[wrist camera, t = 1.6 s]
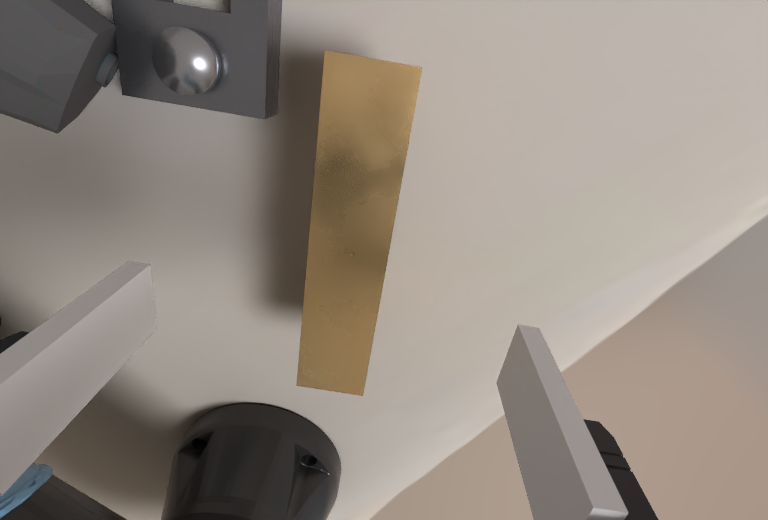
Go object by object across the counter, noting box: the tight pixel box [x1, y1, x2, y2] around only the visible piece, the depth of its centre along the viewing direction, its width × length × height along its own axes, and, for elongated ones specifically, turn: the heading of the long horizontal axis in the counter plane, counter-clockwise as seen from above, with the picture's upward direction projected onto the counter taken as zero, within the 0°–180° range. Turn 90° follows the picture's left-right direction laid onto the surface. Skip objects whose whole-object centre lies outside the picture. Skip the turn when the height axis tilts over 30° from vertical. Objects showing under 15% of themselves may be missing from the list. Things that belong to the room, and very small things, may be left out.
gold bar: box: [297, 51, 422, 396], centre depth 24 cm, size 18×4×8 cm, turn 171°
